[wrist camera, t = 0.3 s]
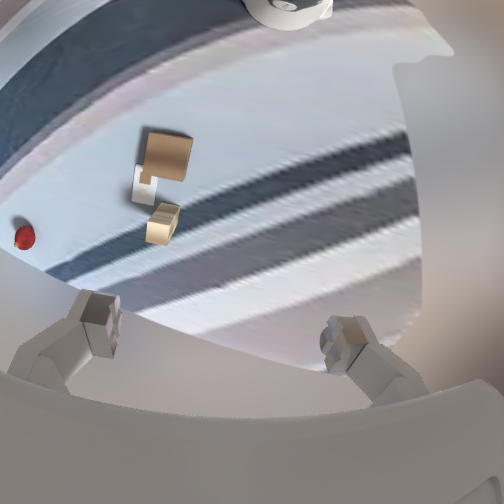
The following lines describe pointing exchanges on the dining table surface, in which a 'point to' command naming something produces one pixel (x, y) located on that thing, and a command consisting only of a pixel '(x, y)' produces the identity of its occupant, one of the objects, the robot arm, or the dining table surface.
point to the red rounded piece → (24, 238)
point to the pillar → (162, 224)
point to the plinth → (167, 156)
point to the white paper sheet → (143, 187)
